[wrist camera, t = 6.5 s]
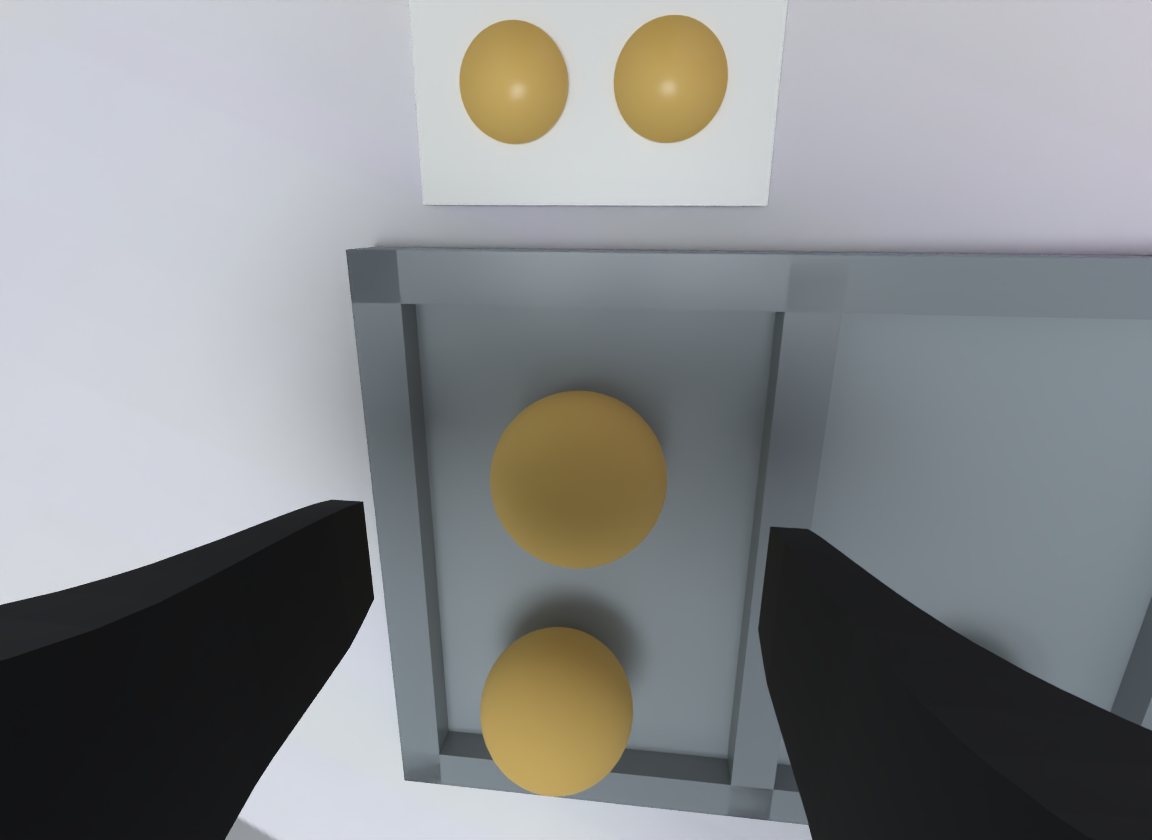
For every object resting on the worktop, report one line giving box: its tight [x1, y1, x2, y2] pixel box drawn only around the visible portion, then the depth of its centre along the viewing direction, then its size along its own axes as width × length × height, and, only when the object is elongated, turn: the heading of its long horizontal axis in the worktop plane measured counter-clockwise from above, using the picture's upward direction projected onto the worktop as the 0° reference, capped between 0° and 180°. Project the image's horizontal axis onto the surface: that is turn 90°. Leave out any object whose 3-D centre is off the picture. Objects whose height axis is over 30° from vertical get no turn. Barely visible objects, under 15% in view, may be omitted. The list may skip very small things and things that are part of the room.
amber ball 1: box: [490, 391, 667, 569], centre depth 14 cm, size 4×4×4 cm
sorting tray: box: [346, 247, 1152, 825], centre depth 16 cm, size 16×21×1 cm
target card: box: [409, 0, 788, 206], centre depth 13 cm, size 5×8×1 cm, turn 90°
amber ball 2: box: [480, 627, 633, 797], centre depth 16 cm, size 4×4×4 cm
